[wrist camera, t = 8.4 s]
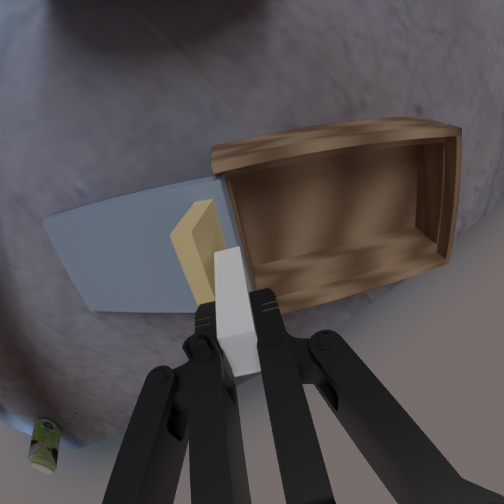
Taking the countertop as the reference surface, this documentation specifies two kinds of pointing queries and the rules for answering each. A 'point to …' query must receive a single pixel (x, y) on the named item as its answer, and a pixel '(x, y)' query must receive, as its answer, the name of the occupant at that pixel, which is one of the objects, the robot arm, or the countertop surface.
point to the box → (343, 205)
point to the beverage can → (44, 446)
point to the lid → (148, 247)
